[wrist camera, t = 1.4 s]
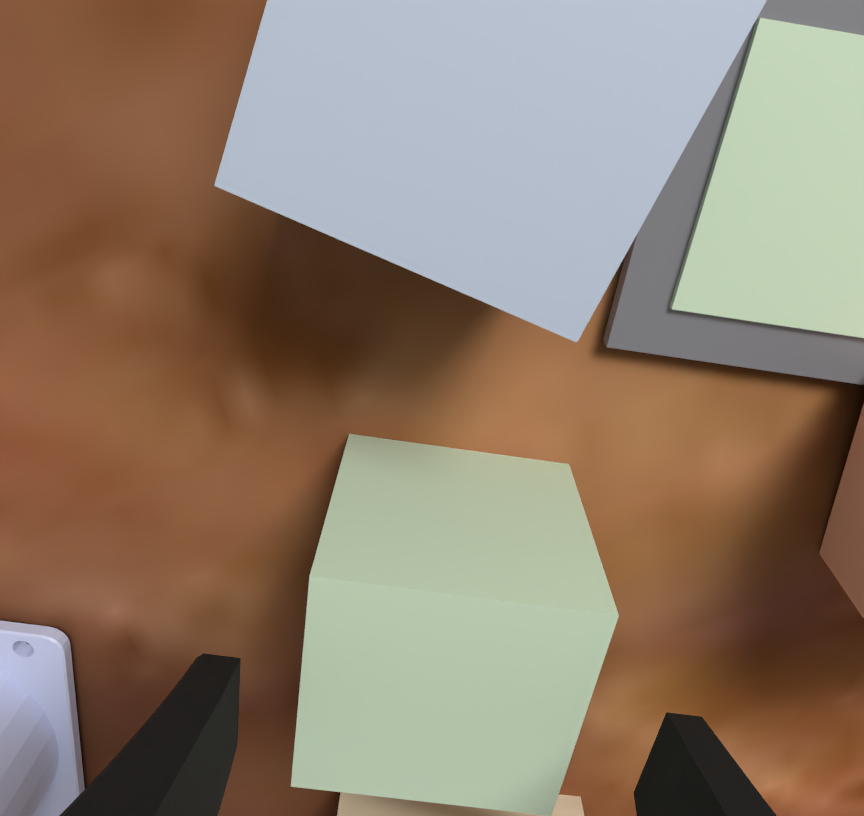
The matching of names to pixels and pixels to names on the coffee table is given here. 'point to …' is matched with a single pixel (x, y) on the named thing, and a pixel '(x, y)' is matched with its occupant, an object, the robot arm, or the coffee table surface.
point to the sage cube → (450, 629)
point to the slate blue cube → (480, 133)
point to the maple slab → (438, 807)
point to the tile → (763, 211)
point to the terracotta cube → (849, 524)
